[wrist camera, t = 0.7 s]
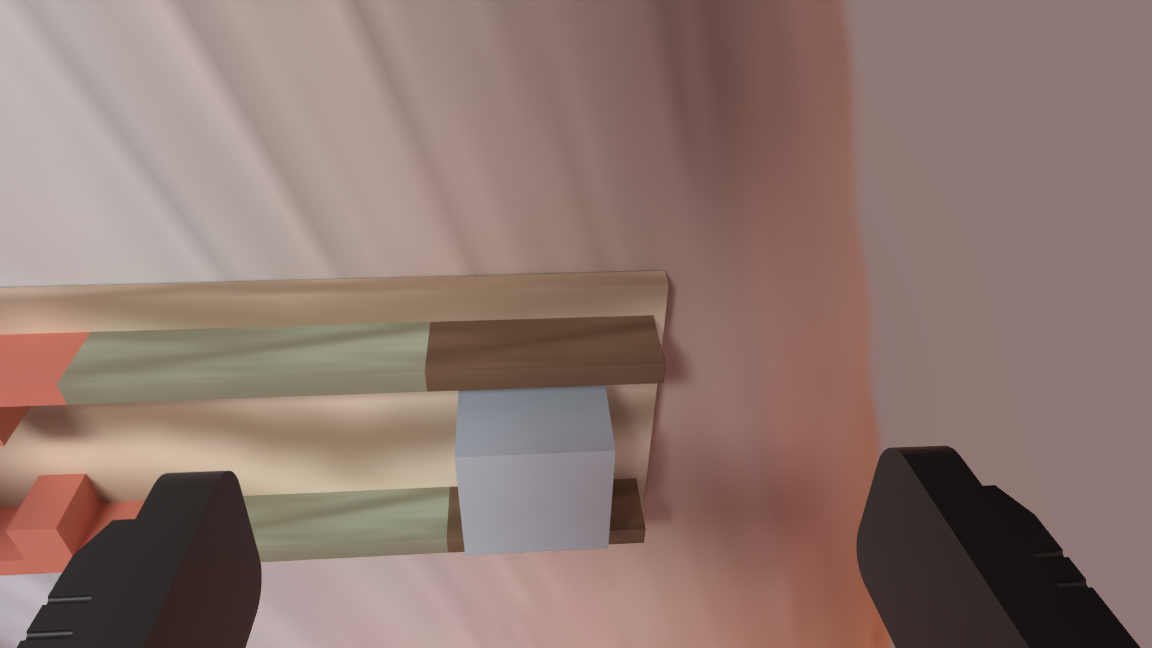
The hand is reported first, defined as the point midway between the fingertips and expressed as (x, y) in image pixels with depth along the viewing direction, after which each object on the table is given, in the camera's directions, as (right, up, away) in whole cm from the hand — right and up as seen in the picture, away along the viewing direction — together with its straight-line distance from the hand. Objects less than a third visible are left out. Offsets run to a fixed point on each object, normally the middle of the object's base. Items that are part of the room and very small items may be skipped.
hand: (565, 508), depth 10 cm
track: (-12, -1, +25) cm, 28 cm away
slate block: (-2, -2, +25) cm, 25 cm away
